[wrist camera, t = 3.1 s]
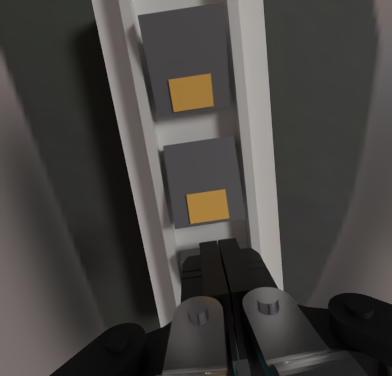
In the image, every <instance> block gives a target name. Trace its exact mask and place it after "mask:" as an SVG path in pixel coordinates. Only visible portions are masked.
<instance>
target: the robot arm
mask: <svg viewBox="0 0 392 376" xmlns="http://www.w3.org/2000/svg"><path fill="white" fill-rule="evenodd" d="M218 246H219V249H218ZM199 247H200V255H195V256H188V257H187V258H186V260H185V261H184V262H183V264H182V283H181V302H180V304H179V305H178V307H177V308H176V309H175V311H174V314H173V319H172V321H171V322H170V323H169V324H167V325H165V326H164V327H162V328H160V329H157V330H155V331H152V332H150V333H147V334H145V331H144V329H143V328H142V327H141V326H140V325H137V324H134V323H124V324H119V325H116V326H114V327H112V328H110V329H108V330H106V331H105V332H104V333H102V334H101V335H100V336H98V337H97V338H96V339H95V340H93V341H92V342H91V343H90V344H88V345H87V346H86V347H85V348H83V349H82V350H81V351H80V352H78V353H77V354H76V355H75V356H73V358H71V359H70V360H68V361H67V362H66V363H65V364H64V365H62V366H61V367H60V368H59V369H57V370H56V371H55V372H53V373H52V374H51V375H50V376H234V369H233V361H235V360H238V359H237V351H236V344H237V349H238V353H239V358H240V360H242V359H248V362H249V366H250V372H251V376H392V304H389V303H386V302H383V301H380V300H378V299H375V298H372V297H369V296H366V295H362V294H357V293H343V294H339V295H336V296H334V297H333V298H332V299H330V301H329V304H328V309H322V308H312V307H305V306H301V305H298V304H296V303H295V301H294V300H293V299H292V297H291V296H290V295H289V294H288V293H286V292H284V291H282V290H280V289H278V287H277V285H276V283H275V281H274V279H273V278H272V276H271V274H270V272H269V270H268V268H267V267H266V265H265V263H264V262H263V259H262V257H261V256H260V254H259V253H258V252H257V251H255V250H254V249H252V248H251V247H250V248H243V249H240V247H239V245H238V242H237V240H236V238H228V239H221V240H218V244H217V240H215V241H208V242H201V243H199ZM234 335H235V336H234ZM235 339H236V343H235Z"/></svg>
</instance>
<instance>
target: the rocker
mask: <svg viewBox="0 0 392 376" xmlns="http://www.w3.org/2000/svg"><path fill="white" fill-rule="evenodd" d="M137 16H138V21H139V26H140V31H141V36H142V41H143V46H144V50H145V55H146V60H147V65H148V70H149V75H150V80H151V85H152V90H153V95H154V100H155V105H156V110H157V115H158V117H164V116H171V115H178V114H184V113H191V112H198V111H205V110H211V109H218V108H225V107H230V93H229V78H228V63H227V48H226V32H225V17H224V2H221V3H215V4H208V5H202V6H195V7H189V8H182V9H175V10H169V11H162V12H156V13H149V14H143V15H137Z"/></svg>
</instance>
